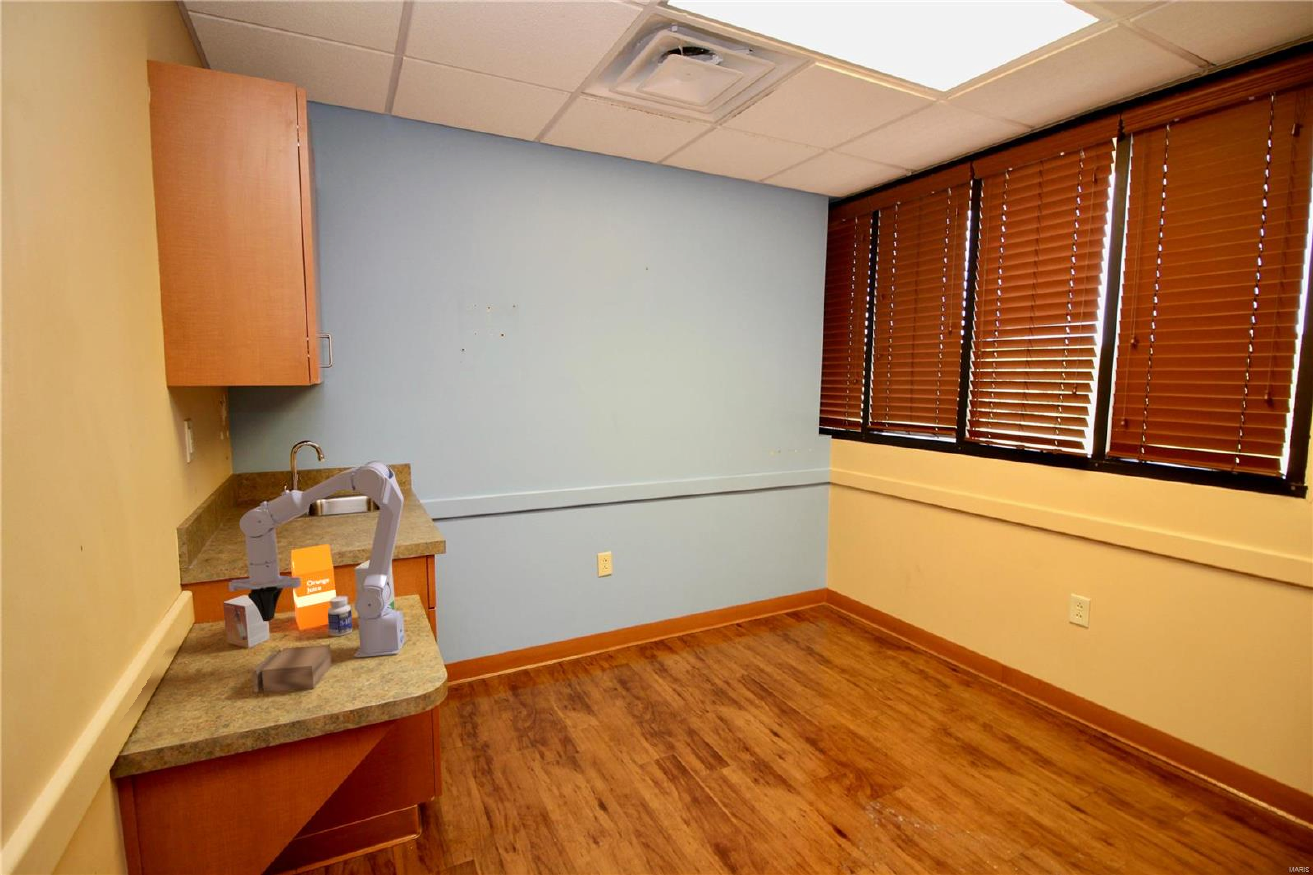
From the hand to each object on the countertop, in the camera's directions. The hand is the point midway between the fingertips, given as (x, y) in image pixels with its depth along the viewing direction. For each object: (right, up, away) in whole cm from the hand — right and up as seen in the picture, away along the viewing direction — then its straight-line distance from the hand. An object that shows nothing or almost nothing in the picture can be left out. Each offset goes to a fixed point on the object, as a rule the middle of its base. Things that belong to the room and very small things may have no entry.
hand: (268, 619), depth 139 cm
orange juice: (-2, -8, +24) cm, 25 cm away
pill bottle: (+8, -8, +16) cm, 20 cm away
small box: (-13, -9, +12) cm, 20 cm away
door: (+5, -10, -8) cm, 14 cm away
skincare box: (+14, -7, +23) cm, 28 cm away
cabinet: (+11, -11, -7) cm, 17 cm away
